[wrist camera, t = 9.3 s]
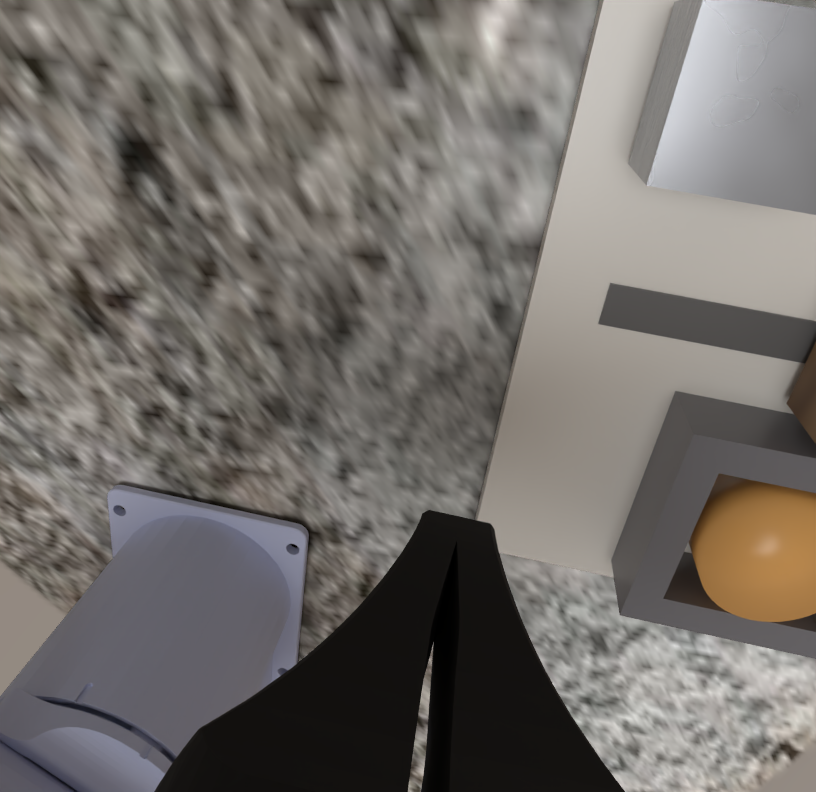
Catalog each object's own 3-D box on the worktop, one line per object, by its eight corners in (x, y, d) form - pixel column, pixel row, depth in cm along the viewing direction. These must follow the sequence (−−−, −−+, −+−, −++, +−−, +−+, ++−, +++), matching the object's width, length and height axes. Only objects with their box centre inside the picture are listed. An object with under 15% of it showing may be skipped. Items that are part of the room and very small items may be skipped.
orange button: (790, 574, 21) (820, 635, 19) (664, 548, 22) (679, 604, 19) (847, 472, 19) (887, 526, 17) (707, 444, 20) (730, 494, 18)
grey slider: (792, 192, 16) (842, 220, 14) (627, 163, 17) (646, 185, 14) (858, 29, 15) (930, 26, 12) (674, 2, 15) (704, -8, 12)
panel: (809, 597, 24) (853, 684, 20) (473, 524, 24) (464, 597, 21) (1122, 64, 15) (1279, 68, 12) (603, -16, 16) (621, -32, 13)
